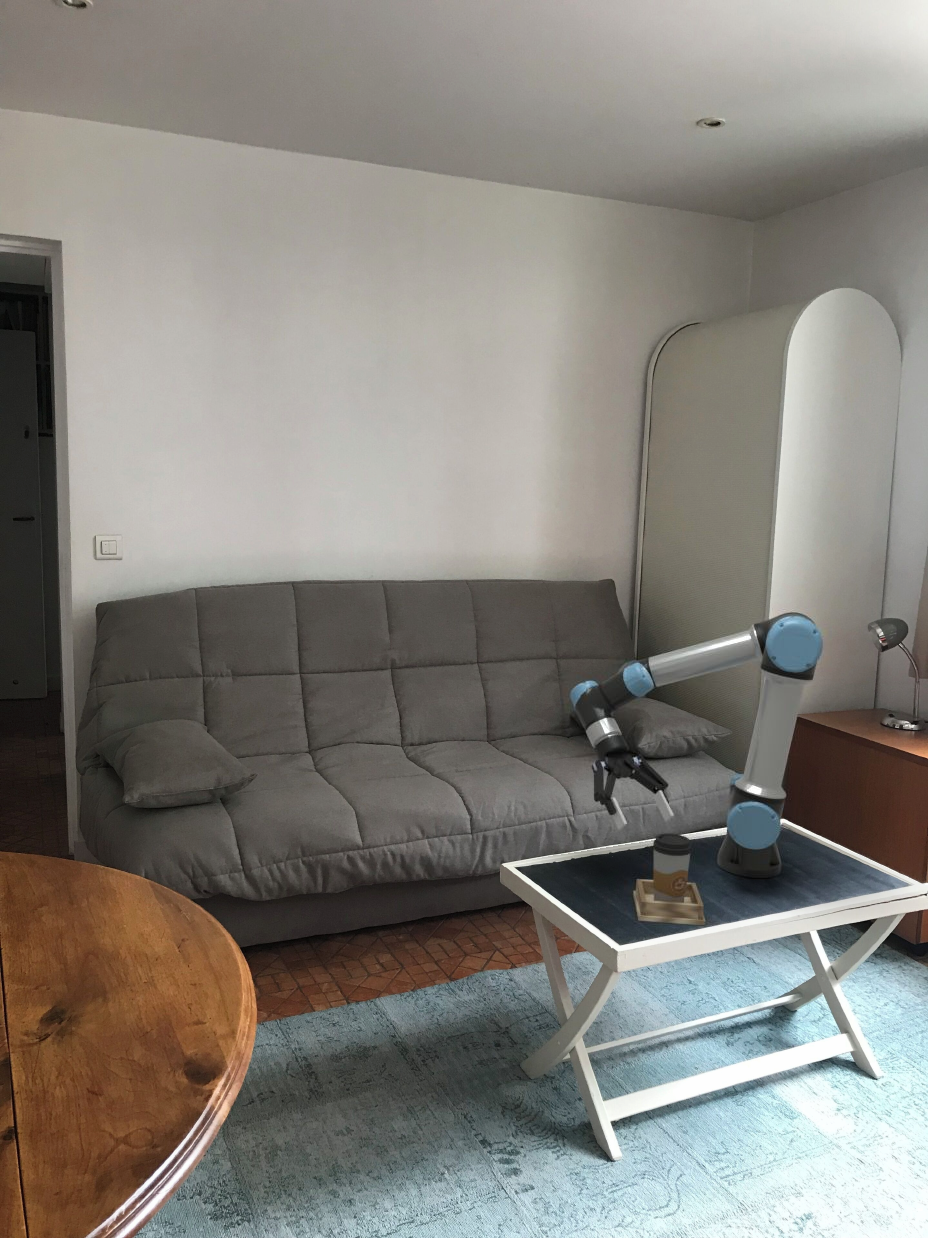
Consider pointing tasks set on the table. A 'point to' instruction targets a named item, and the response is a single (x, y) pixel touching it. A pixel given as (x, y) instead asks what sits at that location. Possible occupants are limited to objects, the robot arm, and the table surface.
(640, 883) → the open wooden box
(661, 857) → the coffee cup
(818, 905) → the table surface
